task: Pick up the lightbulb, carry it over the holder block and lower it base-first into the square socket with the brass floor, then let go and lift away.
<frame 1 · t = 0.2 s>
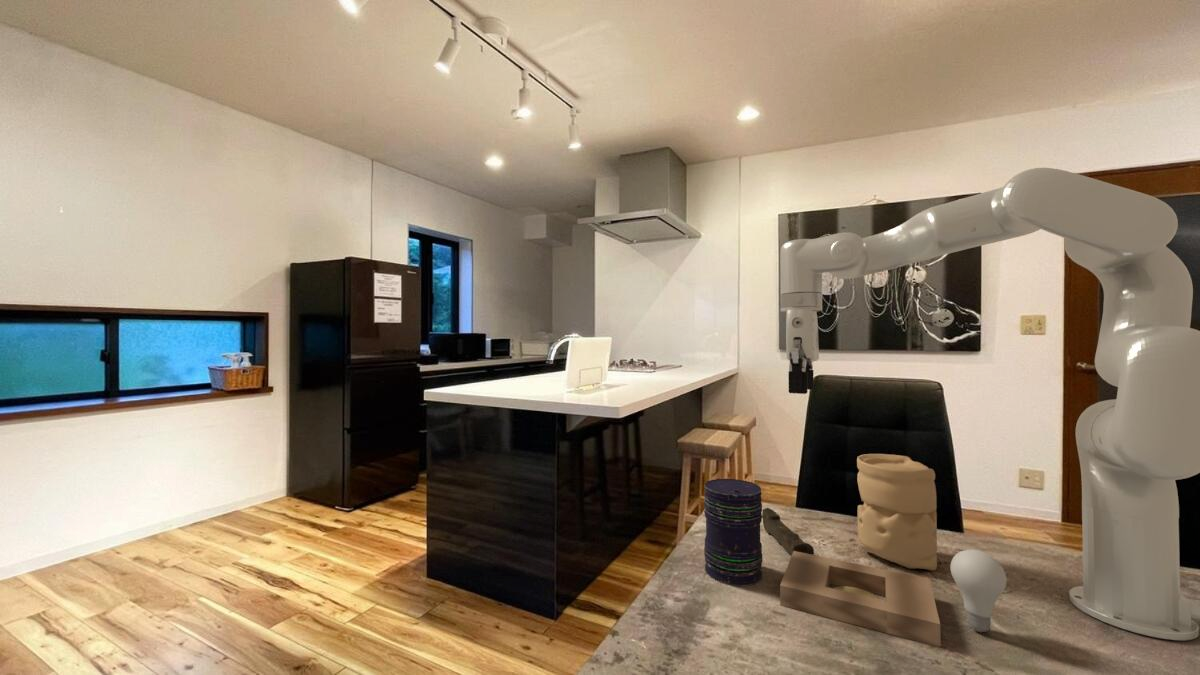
hand: (801, 391, 92), 31 cm above the table, tool pointing down, fingers open, 9 cm apart
navy ridged cylinder: (732, 573, 83), on the table
container: (896, 558, 88), on the table
hand tool: (779, 545, 95), on the table
lightbulb: (978, 632, 65), on the table
holder: (855, 601, 73), on the table
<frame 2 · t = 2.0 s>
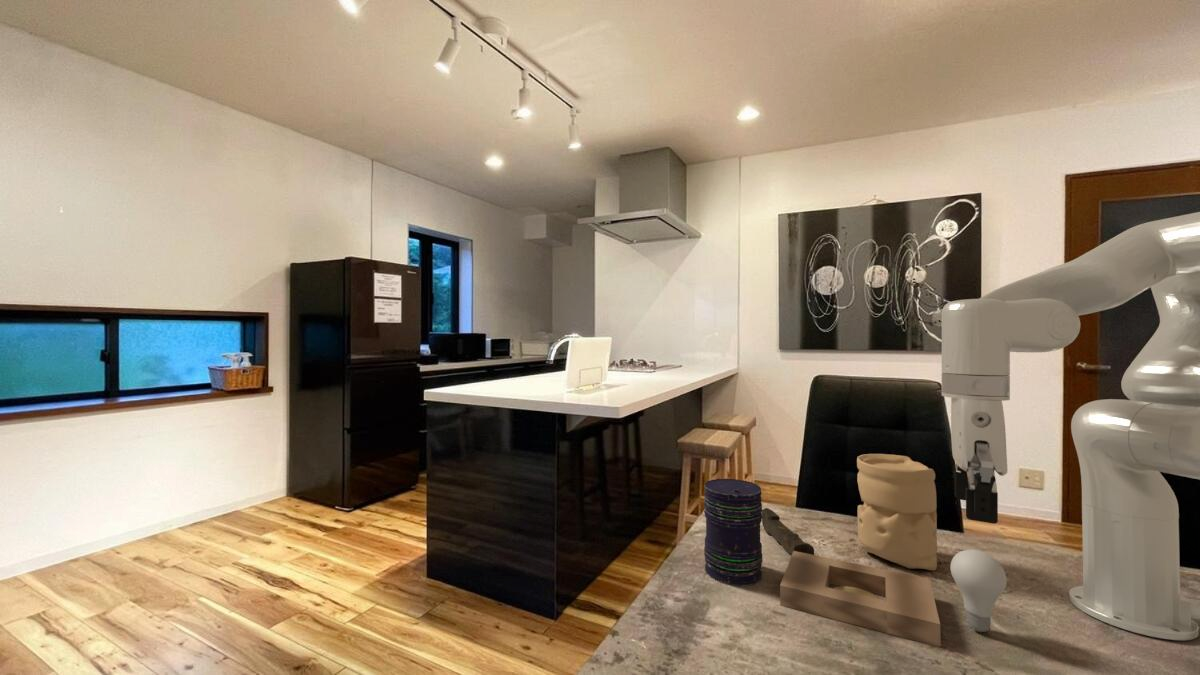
hand: (974, 510, 66), 17 cm above the table, tool pointing down, fingers open, 9 cm apart
nothing on the table moved.
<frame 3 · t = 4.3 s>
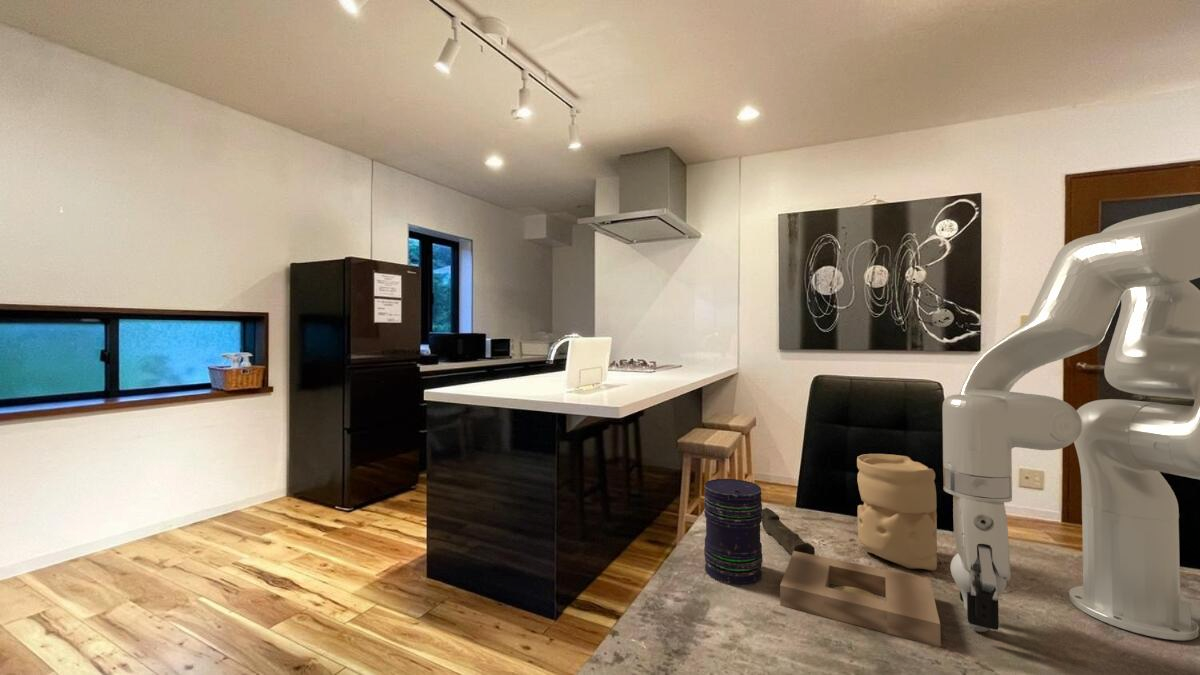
hand: (978, 612, 65), 3 cm above the table, tool pointing down, fingers closed on lightbulb, 5 cm apart
lightbulb: (978, 632, 65), on the table, touching gripper
everything else where it was.
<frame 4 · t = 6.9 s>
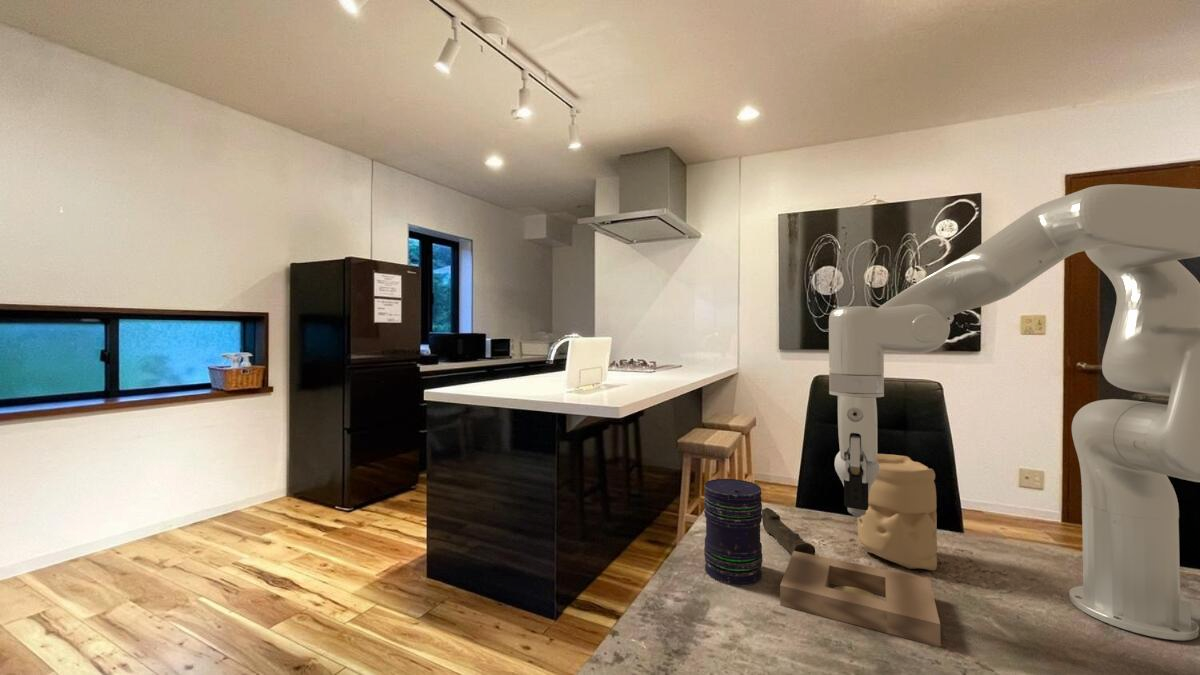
hand: (856, 501, 73), 16 cm above the table, tool pointing down, fingers closed on lightbulb, 5 cm apart
lightbulb: (856, 518, 73), point 13 cm above the table, touching gripper
everything else where it was.
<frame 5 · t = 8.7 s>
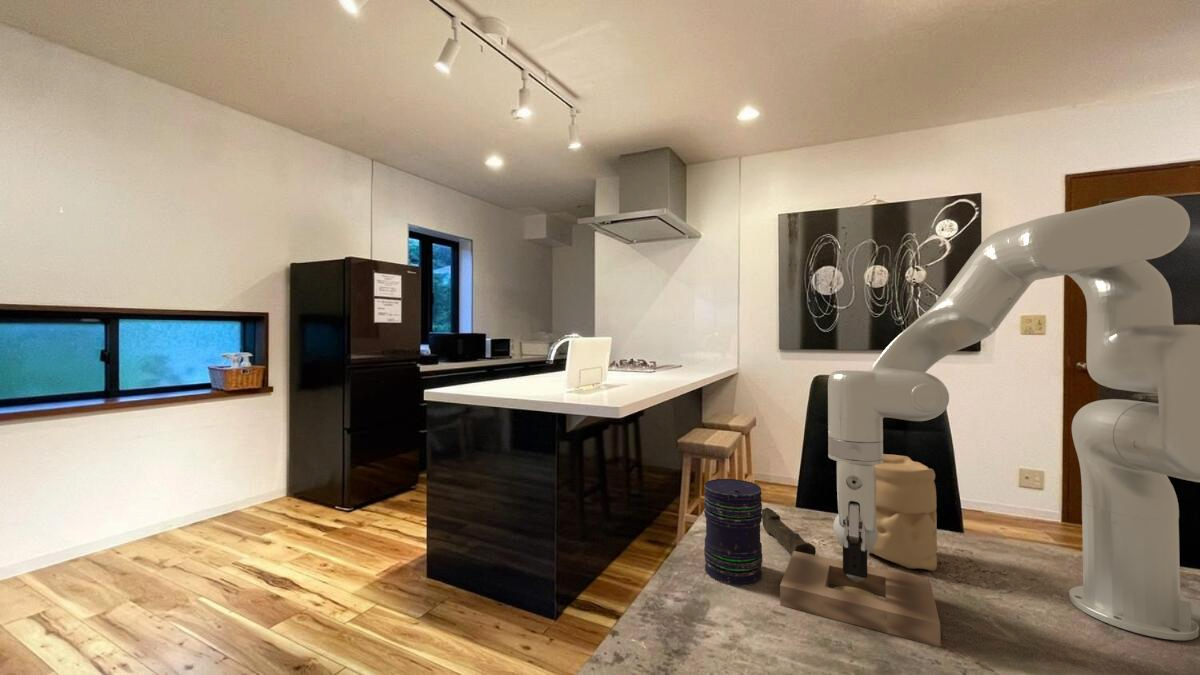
hand: (855, 565, 73), 6 cm above the table, tool pointing down, fingers closed on lightbulb, 5 cm apart
lightbulb: (855, 582, 73), point 3 cm above the table, touching gripper
everything else where it was.
when the fingers open (5 cm above the table, at t = 10.0 s): lightbulb drops 2 cm, resting on holder.
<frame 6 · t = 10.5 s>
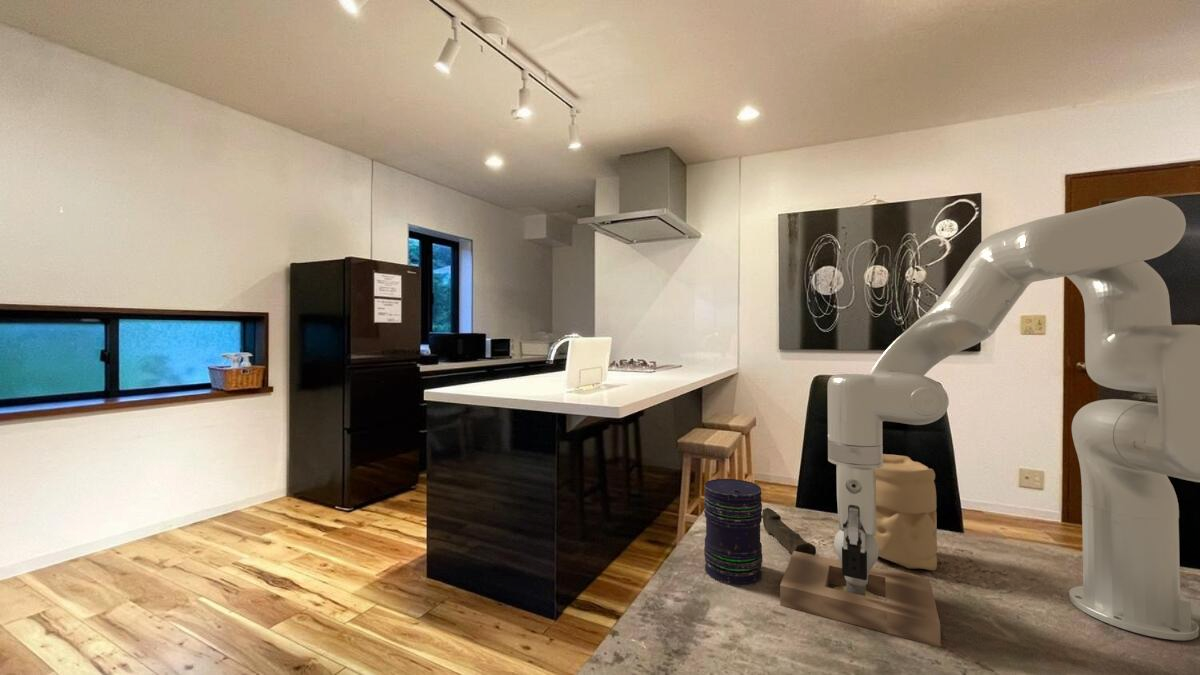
hand: (855, 563, 73), 6 cm above the table, tool pointing down, fingers open, 9 cm apart
lightbulb: (856, 599, 73), resting on holder
everything else where it was.
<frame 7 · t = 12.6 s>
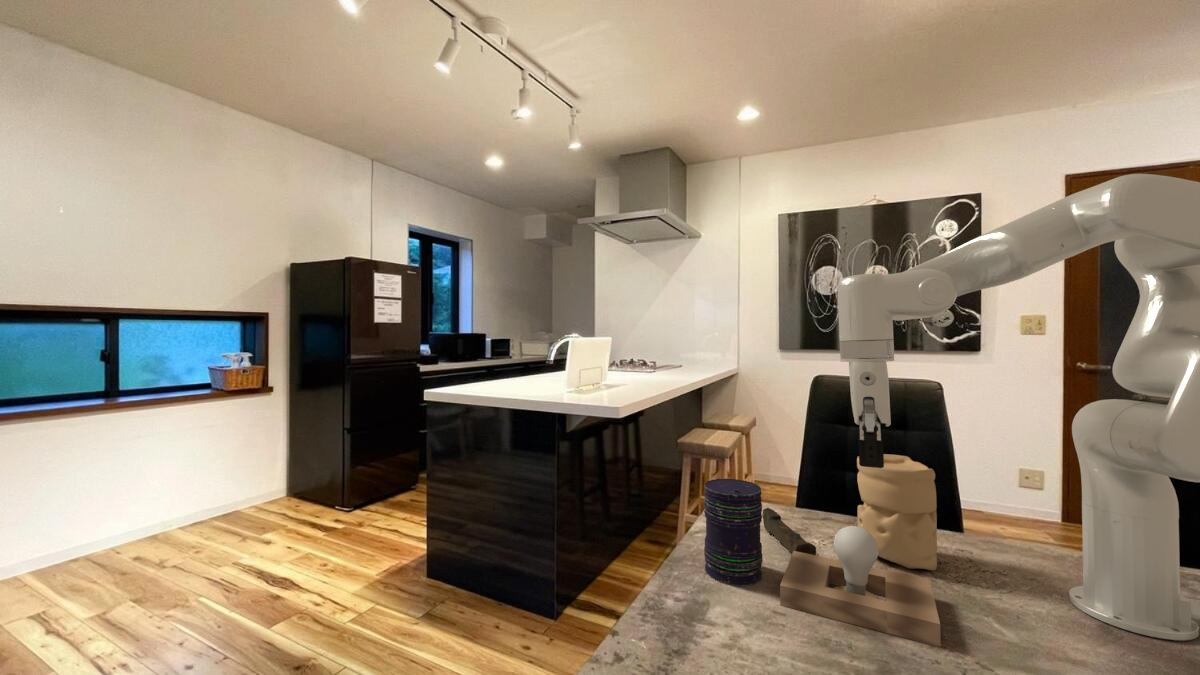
hand: (871, 459, 75), 22 cm above the table, tool pointing down, fingers open, 9 cm apart
nothing on the table moved.
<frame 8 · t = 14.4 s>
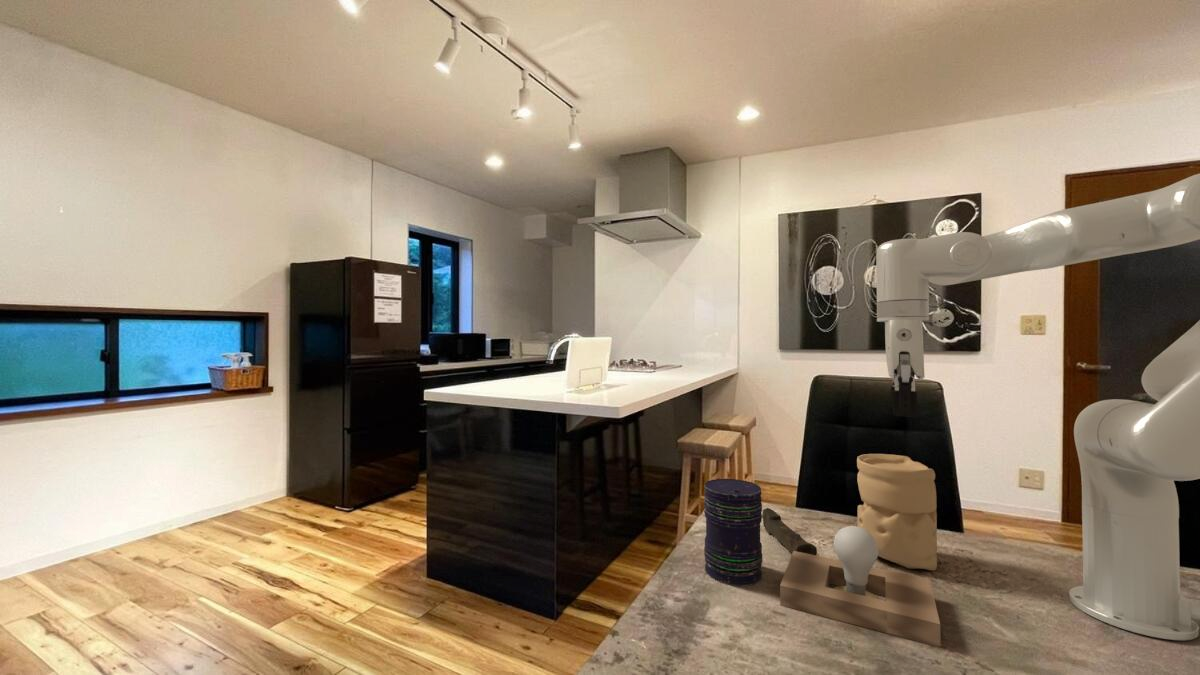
hand: (903, 412, 80), 28 cm above the table, tool pointing down, fingers open, 9 cm apart
nothing on the table moved.
at the end: lightbulb 0.2 cm off-centre on the holder, point 0.3 cm above the holder's base; lightbulb tilted 0°; the gripper is holding nothing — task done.
